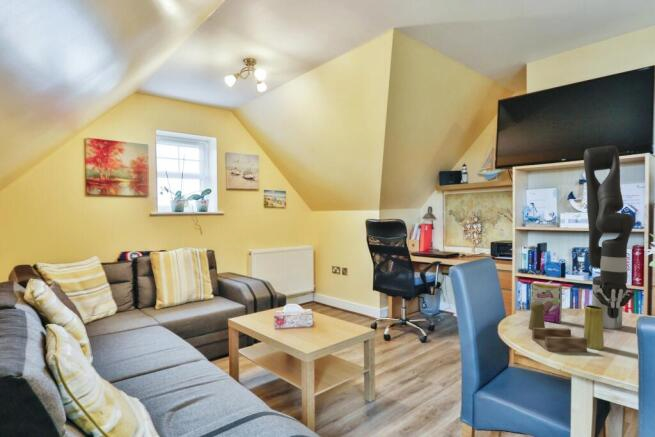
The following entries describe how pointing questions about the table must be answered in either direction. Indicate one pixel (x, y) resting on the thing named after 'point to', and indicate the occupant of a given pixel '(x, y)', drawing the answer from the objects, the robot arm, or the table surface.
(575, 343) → the u rest
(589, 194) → the robot arm
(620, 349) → the table surface
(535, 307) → the cork
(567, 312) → the table surface
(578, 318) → the table surface
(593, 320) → the vase
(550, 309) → the candy bar box
